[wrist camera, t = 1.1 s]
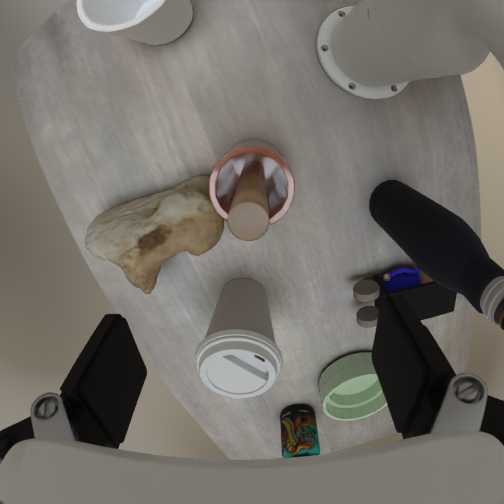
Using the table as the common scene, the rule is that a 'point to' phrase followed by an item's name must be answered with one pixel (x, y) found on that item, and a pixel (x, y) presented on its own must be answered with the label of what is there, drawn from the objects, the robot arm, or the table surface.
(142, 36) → the cup
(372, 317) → the figurine character
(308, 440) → the beverage can
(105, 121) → the table surface
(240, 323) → the coffee cup
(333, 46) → the robot arm
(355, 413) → the bowl
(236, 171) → the holder
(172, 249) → the stone
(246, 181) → the stirring stick
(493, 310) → the black water bottle
